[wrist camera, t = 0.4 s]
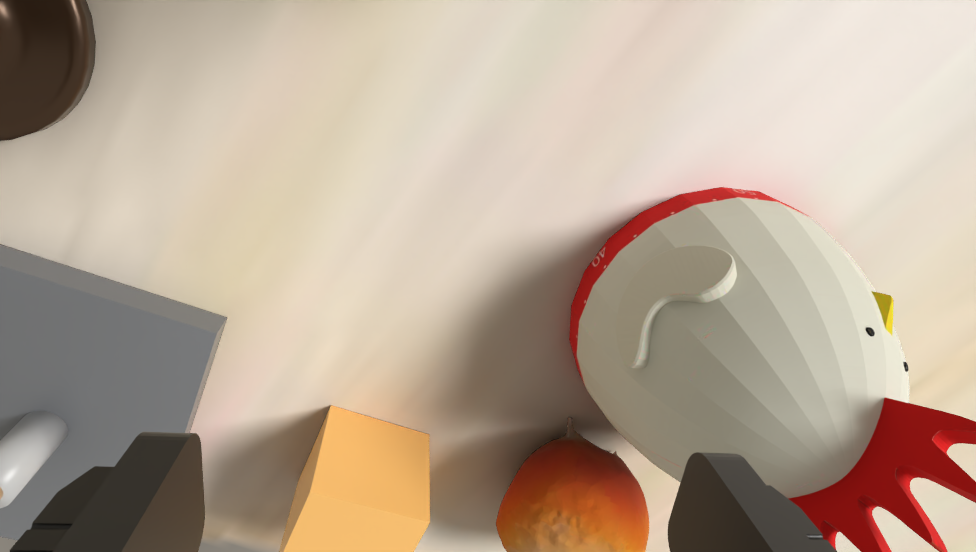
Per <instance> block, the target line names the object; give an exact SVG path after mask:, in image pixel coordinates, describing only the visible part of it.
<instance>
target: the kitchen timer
mask: <svg viewBox="0 0 976 552" xmlns="http://www.w3.org/2000/svg"><path fill="white" fill-rule="evenodd" d="M569 340H570V343H571V347H572V351H573V354H574V358H575V361H576V365H577V369H578V371H579V373H580V376H581V378H582V381H583V383H584V385H585V387H586V389H587V391H588V392H589V394H590V395H591V397H592V398H593V399H594V401H595V402H596V404H597V405H598V406H599V408H600V409H601V411H602V412H603V413H604V415H605V416H606V417H607V419H608V420H609V421H610V423H611V424H612V425H613V427H614V428H615V429H616V430H617V431H618V432H619V433H620V434H621V435H622V436H623V437H624V438H625V439H626V440H627V441H628V442H629V443H630V444H632V445H633V446H634V447H635V448H636V449H637V450H638V451H639V452H640V453H641V454H643V455H644V456H645V457H646V458H647V459H648V460H649V461H651V462H652V463H653V464H654V465H656V466H657V467H659V468H660V469H661V470H663V471H664V472H666V473H667V474H669V475H670V476H672V477H673V478H675V479H676V480H678V481H679V482H681V480H682V477H683V473H684V470H685V467H686V464H687V461H688V459H689V457H690V456H691V455H692V454H693V453H696V452H701V453H730V454H739V455H741V456H742V457H744V458H745V460H746V461H747V462H748V463H749V464H750V466H751V467H752V468H753V469H754V471H755V472H756V473H757V474H758V475H759V477H760V478H761V479H762V480H763V482H764V483H765V484H766V485H771V486H772V487H773V488H775V489H776V490H777V491H779V492H780V493H781V494H783V495H784V496H785V497H787V498H788V499H789V500H791V501H792V502H793V503H795V504H796V505H797V506H798V507H800V508H801V509H802V510H803V512H804V513H805V514H806V515H807V516H808V518H809V519H810V520H811V521H812V522H813V524H814V525H815V526H816V527H817V528H818V530H819V531H820V532H821V533H822V534H823V539H824V540H828V541H829V543H830V544H831V545H832V546H833V547H834V549H835V550H836V548H835V538H836V534H837V532H839V531H840V532H841V533H842V534H843V535H845V536H846V537H847V538H848V539H849V540H850V541H851V542H852V543H853V544H854V545H855V546H856V547H857V548H858V549H859V550H860V551H861V552H891V550H890V548H889V546H888V544H887V543H886V541H885V539H884V537H883V535H882V534H881V532H880V530H879V528H878V526H877V525H876V523H875V521H874V519H873V516H872V510H873V509H874V508H875V507H877V506H878V507H882V508H884V509H886V510H887V511H889V512H890V513H892V514H893V515H894V516H896V517H897V518H898V519H900V520H901V521H902V522H903V523H905V524H906V525H907V526H908V527H909V528H910V529H912V530H913V531H914V532H915V533H917V534H918V535H919V536H920V537H922V538H923V539H924V540H925V541H927V542H928V543H929V544H930V545H932V546H933V547H934V548H935V549H937V550H938V551H939V552H947V549H946V547H945V545H944V543H943V541H942V539H941V538H940V536H939V534H938V532H937V531H936V529H935V528H934V526H933V524H932V523H931V521H930V520H929V518H928V516H927V515H926V514H925V512H924V511H923V509H922V508H921V506H920V505H919V503H918V502H917V500H916V499H915V497H914V496H913V494H912V493H911V491H910V481H911V480H912V479H913V478H917V477H919V478H926V479H929V480H931V481H934V482H936V483H938V484H940V485H942V486H944V487H946V488H948V489H950V490H952V491H954V492H956V493H958V494H959V495H961V496H963V497H965V498H967V499H969V500H971V501H973V502H975V503H976V482H975V481H974V480H973V479H972V478H971V477H970V476H969V475H968V474H967V473H966V472H965V471H964V470H962V469H961V468H960V467H959V466H958V465H957V464H956V463H955V462H954V461H953V460H952V459H951V458H949V456H948V455H947V453H946V452H947V450H948V448H949V447H950V446H951V445H953V444H956V443H967V444H976V422H975V421H972V420H969V419H966V418H964V417H961V416H957V415H954V414H950V413H946V412H943V411H939V410H934V409H930V408H926V407H922V406H918V405H914V404H910V403H909V375H908V365H907V363H906V360H905V356H904V353H903V349H902V346H901V344H900V341H899V338H898V335H897V333H896V330H895V327H894V324H893V298H892V297H891V296H890V295H886V294H882V293H877V292H876V290H875V289H874V287H873V286H872V284H871V283H870V281H869V280H868V278H867V277H866V276H865V274H864V273H863V271H862V270H861V269H860V267H859V266H858V265H857V263H856V262H855V261H854V260H853V258H852V257H851V256H850V255H849V254H848V253H847V252H846V251H845V250H844V249H843V248H842V247H841V246H840V244H839V243H838V242H837V241H836V240H835V239H834V238H833V237H832V236H831V235H830V234H829V233H828V232H827V231H826V230H825V229H824V228H823V227H822V226H821V225H820V224H819V223H818V222H816V221H815V220H814V219H812V218H811V217H809V216H807V215H805V214H804V213H802V212H800V211H798V210H796V209H794V208H793V207H791V206H789V205H786V204H784V203H782V202H780V201H778V200H776V199H774V198H772V197H770V196H767V195H765V194H763V193H761V192H758V191H749V190H741V189H732V188H723V187H720V188H714V189H708V190H703V191H697V192H691V193H685V194H680V195H678V196H676V197H674V198H671V199H669V200H667V201H665V202H663V203H661V204H658V205H656V206H654V207H652V208H650V209H648V210H645V211H643V212H641V213H640V214H639V215H638V216H636V217H635V218H634V219H633V220H631V221H630V222H629V223H628V224H626V225H625V226H624V227H623V228H621V229H620V230H619V231H618V232H617V233H615V234H614V235H613V236H612V237H610V238H609V239H608V240H607V242H606V243H605V244H604V246H603V247H602V248H601V250H600V251H599V253H598V254H597V255H596V257H595V258H594V259H593V261H592V262H591V263H590V265H589V266H588V267H587V269H586V270H585V272H584V274H583V277H582V279H581V282H580V285H579V287H578V290H577V292H576V295H575V298H574V300H573V303H572V305H571V320H570V336H569Z"/></svg>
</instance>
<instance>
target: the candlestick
mask: <svg viewBox="0 0 976 552" xmlns="http://www.w3.org/2000/svg"><path fill="white" fill-rule="evenodd" d="M95 44H96V42H95V35H94V28H93V22H92V16H91V13H90V10H89V7H88V4H87V2H86V0H0V141H1V140H12V139H15V138H18V137H21V136H25V135H28V134H31V133H34V132H37V131H40V130H44V129H47V128H48V127H50V126H52V125H53V124H55V123H57V122H58V121H60V120H62V119H63V118H65V117H66V116H67V115H68V114H69V113H70V112H71V111H72V110H73V109H74V108H75V107H76V106H77V105H78V103H79V102H80V100H81V98H82V96H83V95H84V93H85V91H86V90H87V88H88V86H89V83H90V79H91V76H92V72H93V68H94V63H95Z"/></svg>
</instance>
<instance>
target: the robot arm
mask: <svg viewBox="0 0 976 552" xmlns="http://www.w3.org/2000/svg"><path fill="white" fill-rule="evenodd" d="M204 520H205V506H204V488H203V471H202V453H201V442H200V438H199V436H198V435H197V434H196V433H168V432H142V433H140V434H139V435H138V436H137V437H136V438H135V439H134V441H133V442H132V443H131V445H130V446H129V447H128V449H127V450H126V452H125V453H124V454H123V456H122V457H121V458H120V460H119V461H118V463H117V464H116V465H115V467H104V466H94V467H93V468H91V469H90V470H89V471H87V472H86V473H84V474H83V475H81V476H80V477H78V478H77V479H76V480H74V481H73V482H71V483H70V484H68V485H67V486H65V487H64V488H62V489H61V490H60V491H58V492H57V493H56V494H55V496H54V497H53V498H52V499H51V501H50V502H49V503H48V504H47V505H46V507H45V508H44V509H43V510H42V512H41V513H40V514H39V515H38V516H37V518H36V519H35V520H34V521H33V523H32V527H31V529H30V530H26V531H25V532H24V534H23V535H22V536H21V537H20V539H19V540H18V541H17V542H16V543H15V545H14V546H13V547H12V548H11V550H10V552H198V550H199V546H200V543H201V539H202V534H203V528H204ZM668 542H669V548H670V552H837V551H836V550H835V549H834V547H833V546H832V545H831V544H830V543H829V541H828V540H824V539H823V534H822V533H821V532H820V531H819V530H818V528H817V527H816V526H815V525H814V524H813V522H812V521H811V520H810V519H809V518H808V516H807V515H806V514H805V513H804V512H803V510H802V509H801V508H800V507H798V506H797V505H796V504H795V503H793V502H792V501H791V500H789V499H788V498H787V497H785V496H784V495H783V494H781V493H780V492H779V491H777V490H776V489H775V488H773V487H772V486H771V485H766V484H765V483H764V482H763V480H762V479H761V478H760V477H759V475H758V474H757V473H756V472H755V471H754V469H753V468H752V467H751V466H750V464H749V463H748V462H747V461H746V460H745V458H744V457H742V456H741V455H739V454H730V453H701V452H696V453H693V454H692V455H691V456H690V457H689V459H688V461H687V464H686V467H685V470H684V473H683V477H682V480H681V483H680V486H679V490H678V493H677V496H676V500H675V503H674V506H673V509H672V513H671V516H670V519H669V524H668Z"/></svg>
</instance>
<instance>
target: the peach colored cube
mask: <svg viewBox="0 0 976 552" xmlns="http://www.w3.org/2000/svg"><path fill="white" fill-rule="evenodd" d="M429 523H430V457H429V434H425V433H422V432H419V431H415V430H412V429H408V428H405V427H402V426H398V425H395V424H392V423H388V422H385V421H382V420H378V419H375V418H371V417H368V416H365V415H361V414H358V413H355V412H351V411H348V410H345V409H341V408H338V407H334V406H330V409H329V411H328V413H327V416H326V418H325V420H324V423H323V425H322V427H321V429H320V432H319V434H318V436H317V439H316V441H315V443H314V446H313V448H312V450H311V453H310V455H309V457H308V460H307V462H306V464H305V466H304V469H303V471H302V473H301V476H300V478H299V480H298V484H297V487H296V491H295V495H294V498H293V502H292V506H291V509H290V513H289V517H288V521H287V524H286V528H285V532H284V535H283V539H282V543H281V546H280V550H279V552H414V550H415V548H416V546H417V545H418V543H419V541H420V539H421V538H422V536H423V534H424V532H425V530H426V529H427V527H428V525H429Z"/></svg>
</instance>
